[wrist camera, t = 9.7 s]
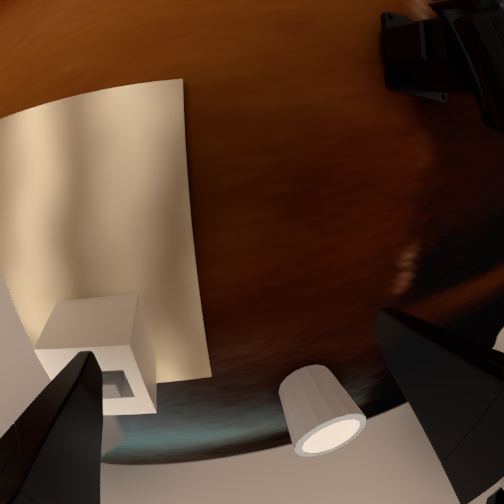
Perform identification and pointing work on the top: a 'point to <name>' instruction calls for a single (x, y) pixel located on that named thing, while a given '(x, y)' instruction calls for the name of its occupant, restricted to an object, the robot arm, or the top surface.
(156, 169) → the maple board
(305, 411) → the shot glass
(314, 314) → the top surface
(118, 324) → the box
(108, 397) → the post
